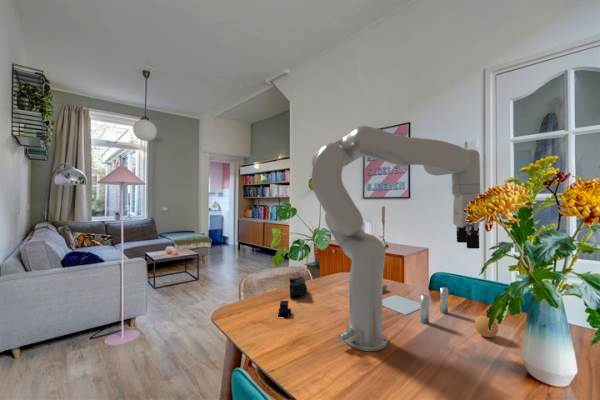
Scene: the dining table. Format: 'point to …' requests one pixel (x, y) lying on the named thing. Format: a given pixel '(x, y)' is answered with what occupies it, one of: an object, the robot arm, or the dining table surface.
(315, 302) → the dining table surface
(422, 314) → the left post
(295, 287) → the end cap
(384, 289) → the stopper wall
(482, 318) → the ball
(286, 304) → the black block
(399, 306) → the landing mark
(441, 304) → the right post
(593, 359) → the dining table surface
